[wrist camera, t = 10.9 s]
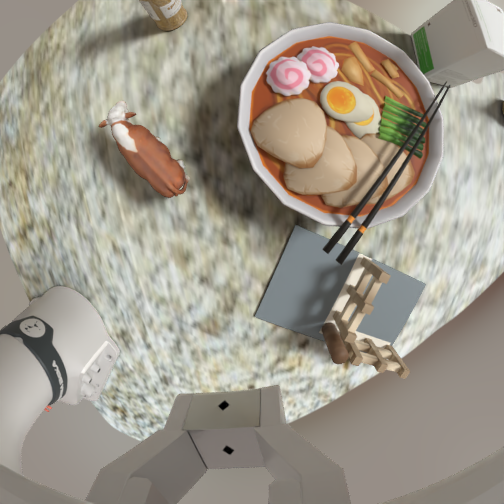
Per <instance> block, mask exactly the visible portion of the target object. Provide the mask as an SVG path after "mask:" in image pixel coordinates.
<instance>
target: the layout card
mask: <svg viewBox="0 0 504 504" xmlns="http://www.w3.org/2000/svg"><path fill="white" fill-rule="evenodd" d="M329 240H330V239H327V238H325V237H323V236H320V235H318V234H316V233H314V232H311V231H309V230H307V229H304V228H302V227H300V226H297V225H295V227H294V229H293V232H292V234H291V236H290V238H289V241H288V243H287V245H286V248H285V250H284V252H283V254H282V257H281V259H280V261H279V263H278V266H277V268H276V270H275V272H274V275H273V277H272V279H271V281H270V284H269V286H268V288H267V290H266V292H265V295H264V297H263V299H262V301H261V303H260V306H259V308H258V310H257V312H256V314H255V317H257V318H259V319H262V320H265V321H268V322H270V323H273V324H276V325H279V326H281V327H284V328H287V329H290V330H293V331H295V332H298V333H301V334H304V335H307V336H310V337H313V338H316V339H319V340H322V341H325V339H324V336H323V333H322V326H323V325H324V324H325V323H328V322H331V323H333V324H335V326H336V328H337V330H338V332H339V335H340V334H341V333H340V331H339V329H338V327H337V325H336V323H335V321H334V319H333V315H334V313H335V311H336V310H337V311H339V312H342V310H343V308H344V307H345V305H346V303H347V301H348V299H349V297H350V295H349V294H348V293H347V289H348V287H349V285H350V284H351V285H353V286H356V284H357V282H358V280H359V278H360V276H361V274H362V272H363V270H364V267H363V266H362V265H361V264H360V263H361V261H362V259H363V257H365V258H367V259H369V260H371V261H372V262H374V263H375V264H376V265H378V266H379V267H380V268H381V269H383V270H384V271H385V272H387V273H388V274H389V275H390V276H391V277H390V279H389V281H388V283H387V284H385V283H383V282H382V284H381V286H380V288H379V290H378V292H377V294H376V296H375V298H374V299H373V301H372V303H371V304H372V305H373V306H374V309H373V311H372V312H371V314H370V315H368V314H365V316H364V317H363V319H362V321H361V323H360V324H359V326H358V328H357V329H356V331H355V334H356V335H357V338H356V340H358V341H361V342H364V340H365V338H369V339H372V341H373V342H374V344H375V345H376V346H377V347H380V348H383V349H385V347H386V345H391V346H392V345H393V343H394V342H395V340H396V338H397V337H398V335H399V333H400V332H401V330H402V328H403V326H404V325H405V323H406V321H407V319H408V318H409V316H410V314H411V312H412V310H413V309H414V307H415V305H416V303H417V301H418V299H419V297H420V295H421V293H422V291H423V289H424V287H425V285H426V284H425V283H422V282H420V281H418V280H416V279H414V278H412V277H410V276H408V275H406V274H404V273H402V272H400V271H398V270H395V269H393V268H391V267H389V266H387V265H385V264H383V263H380V262H378V261H376V260H374V259H372V258H370V257H367V256H365V255H363V254H361V253H359V252H356V251H354V250H352V251H351V252H350V254H349V255H348V256H347V258H346V259H345V261H344V262H343V263H342V265H341V264H340V263H338V262H337V261H336V258H337V257H338V256H339V254H340V253H341V252H342V250H343V249H344V248H345V246H343V245H341V244H339V243H337V244H336V245H335V246H334V247H333V249H332V250H331V251H330V253H329V254H327V253H326V252H325V251H323V250H322V249H323V248H324V246H325V245H326V244H327V243H328V241H329ZM372 278H373V275H372V276H371V278H370V280H369V282H368V284H367V286H366V288H365V290H364V292H363V295H364V293H365V291H366V290H367V288H368V286H369V284H370V282H371V280H372ZM356 308H357V305H356V307H355V309H354V310H353V312H352V314H351V316H350V317H349V319H348V321H350V319H351V317H352V315H353V313H354V312H355V310H356ZM325 342H326V341H325ZM359 351H360V350H359ZM360 352H363V351H360ZM363 353H366V352H363Z"/></svg>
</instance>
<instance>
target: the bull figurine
mask: <svg viewBox="0 0 504 504" xmlns="http://www.w3.org/2000/svg"><path fill="white" fill-rule="evenodd" d="M135 115H136V113H134V112H128V110H127V104H126V102H124V101H120V102H117V103H116V105H115V106H114V107H112V108H111V109H110V111H109V113H108V116H107V118H108V119H106V120H104V121H102V122H101V123H100V125H99V127H100V128H102V127H105V126H107V125H108V124H109V125H111V130H112V135H113V137H114V139H115V140H116V143H117V145H118V148H119V150H120V152H121V153H122V155H123V156H124V157H125V158H126V160H127V162H128V163H129V165H130V166H131V167H132V168H133V169H134V171H135V172H136V173H137V174H138V175H139V176H140V177H142V178H143V179H146V180H147V181H148V182H149V183H150V184H151V186H152V187H153V189H154V190H155V191H157V192H158V193H160V194H161V195H163V196H165V197H168V198H171V197H173V196H174V195H175V196H178V194H183V193H184V192H185V190H186V186H187V183H188V181H189V179H190V178H189V177H188V176H187V175H185V172H184V168H185V166H184V165H183V161H182V160H180V159H179V160H177V161H176V160H175V159H172V158H171V155H170V152H169V150H168V148H167V147H166V146H165V145H164V144H163V143H162V142H160V138H159V137H155V136H154V135H152V134H151V133H150V131H149V130H148V129H146V128H145V127H143V126H141V125H133V124H131V123H130V121H129V118H130V117H133V116H135ZM183 184H184V185H183ZM182 186H183V188H182V189H181V190H179V189H180V188H181V187H182Z"/></svg>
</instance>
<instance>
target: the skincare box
mask: <svg viewBox="0 0 504 504" xmlns="http://www.w3.org/2000/svg"><path fill="white" fill-rule="evenodd" d="M411 37H412V41H413V46H414V51H415V55H416V60H417V65H418V68H419V70H420V71H421V72H422V73H423V75H424V76H425V77H426V78H427V80H428V81H429V82H432V83H436V84H441V85H444V84H445V82H446V81H447V83H446V85H445V86H449V85H450V87H455V86H458V85H461V84H464V83H467V82H470V81H472V80H475V79H478V78H481V77H484V76H487V75H490V74H494V73H497V72H500V71H503V70H504V12H503V10H502V9H501V8H500V7H498V6H496V5H494V4H492V3H491V2H489V1H487V0H453V1H452V2H451V3H449V4H448V5H447V6H446V7H444V8H443V9H441V10H440V11H439V12H438V13H436V14H435V15H434V16H432V17H431V18H430V19H429V20H427V21H426V22H425V23H424V24H422V25H421V26H420V27H419V28H417V29H416V30H415V31H414V32H412V33H411Z"/></svg>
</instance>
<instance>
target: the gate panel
mask: <svg viewBox="0 0 504 504" xmlns="http://www.w3.org/2000/svg"><path fill="white" fill-rule="evenodd" d="M360 264H361V265H362V266H363V267H364V270H363V272H362V274H361V276H360V278H359V280H358V282H357V284H356V286H353V285H351V284H350V285H349V287H348V289H347V293H348V294H349V295H350V297H349V299H348V301H347V303H346V305H345V307H344V308H343V310H342V312H339V311H337V310H336V311H335V313H334V315H333V319H334V321H335V323H336V325H337V327H338V329H339V331H340V333H341V335H342V337H343V339H344V341H346V342H349V343H352V344H353V343H354V341H355V340H356V338H357V335H356V334H355V331H356V329H357V328H358V326H359V324H360V323H361V321H362V319H363V317H364V316H365V314H368V315H370V314H371V312H372V311H373V309H374V306H373V305H372V304H371V303H372V301H373V299H374V298H375V296H376V294H377V292H378V290H379V288H380V286H381V284H382V282H383V283H385V284H387V283H388V281H389V279H390V277H391V276H390V275H389V274H388V273H387V272H385V271H384V270H383V269H381V268H380V267H379V266H378V265H376V264H375V263H374V262H372V261H371V260H369V259H367V258H365V257H363V259H362V261H361V263H360ZM372 275H373V278H372V280H371V282H370V284H369V286H368V288H367V290H366V291H365V293H364V295H363V292H364V290H365V288H366V286H367V284H368V282H369V280H370V278H371V276H372ZM356 305H357V308H356V310H355V312H354V313H353V315H352V317H351V319H350V321H348V319H349V317H350V316H351V314H352V312H353V310H354V309H355V307H356Z"/></svg>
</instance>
